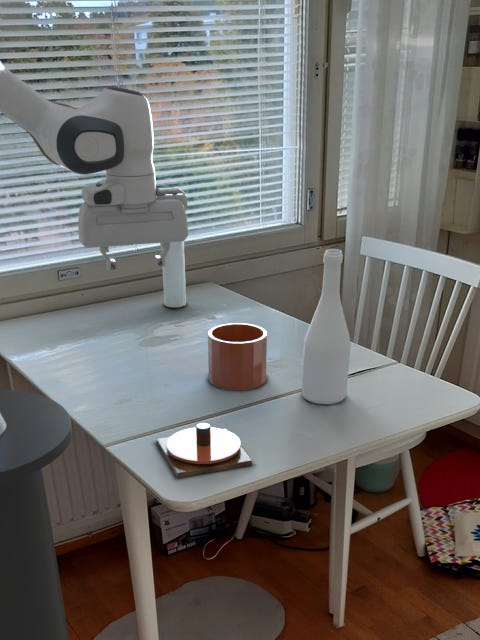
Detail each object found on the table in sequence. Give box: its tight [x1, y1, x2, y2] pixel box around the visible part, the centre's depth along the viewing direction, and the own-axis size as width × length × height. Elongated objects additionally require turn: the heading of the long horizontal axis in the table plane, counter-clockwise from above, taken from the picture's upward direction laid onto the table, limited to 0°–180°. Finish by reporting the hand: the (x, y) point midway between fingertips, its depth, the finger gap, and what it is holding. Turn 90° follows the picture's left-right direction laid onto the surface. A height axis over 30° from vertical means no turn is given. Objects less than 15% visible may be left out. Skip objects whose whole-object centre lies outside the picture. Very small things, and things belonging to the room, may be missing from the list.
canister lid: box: [166, 422, 242, 464], centre depth 143 cm, size 14×14×5 cm
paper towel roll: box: [161, 241, 187, 308], centre depth 211 cm, size 7×6×21 cm
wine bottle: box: [300, 248, 352, 405], centre depth 158 cm, size 10×10×30 cm
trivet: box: [155, 427, 253, 479], centre depth 144 cm, size 14×14×1 cm
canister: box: [207, 322, 268, 391], centre depth 171 cm, size 13×13×10 cm
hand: (136, 268), depth 149 cm, fingers open, 8 cm apart
